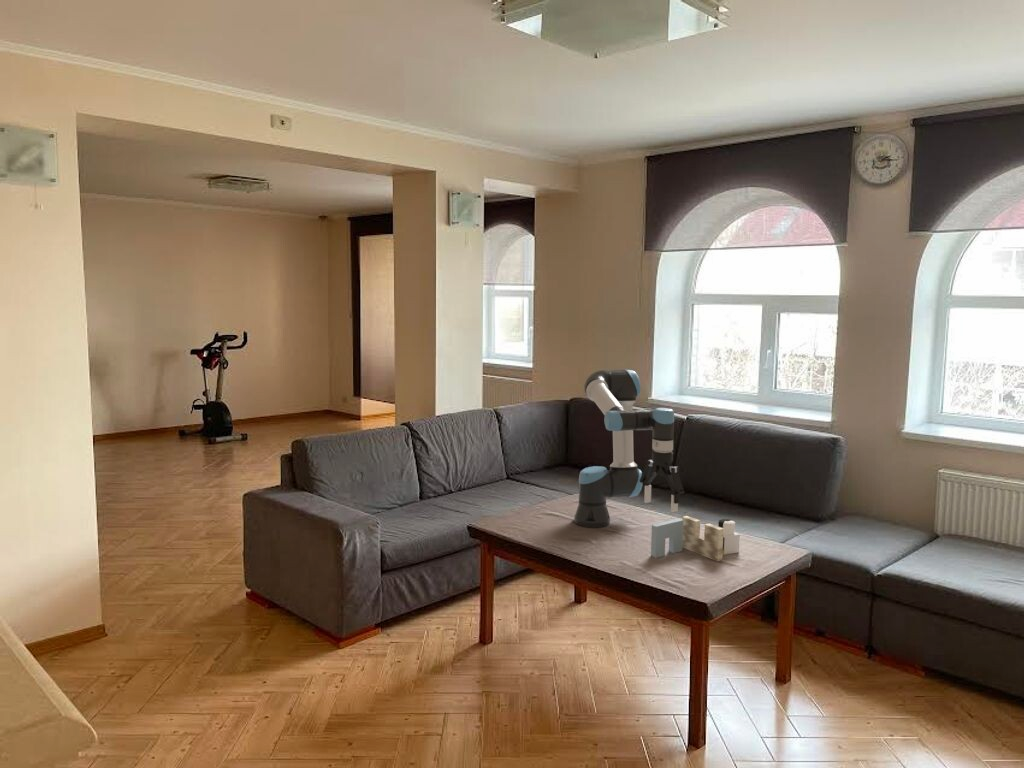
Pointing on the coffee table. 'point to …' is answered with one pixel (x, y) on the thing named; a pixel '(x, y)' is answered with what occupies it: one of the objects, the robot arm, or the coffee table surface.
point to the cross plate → (667, 530)
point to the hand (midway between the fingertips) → (660, 506)
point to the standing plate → (703, 538)
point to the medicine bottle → (729, 536)
